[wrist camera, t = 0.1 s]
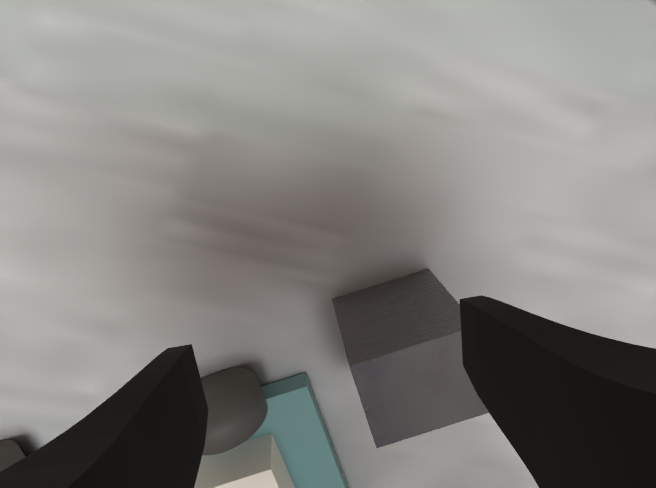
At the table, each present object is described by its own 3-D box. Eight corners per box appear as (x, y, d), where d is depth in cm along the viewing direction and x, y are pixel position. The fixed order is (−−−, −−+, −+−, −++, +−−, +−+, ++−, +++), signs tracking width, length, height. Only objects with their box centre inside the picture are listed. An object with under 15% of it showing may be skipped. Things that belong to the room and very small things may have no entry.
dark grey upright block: (444, 336, 24) (495, 410, 18) (353, 364, 24) (376, 448, 18) (428, 268, 23) (477, 325, 17) (332, 298, 23) (349, 366, 17)
